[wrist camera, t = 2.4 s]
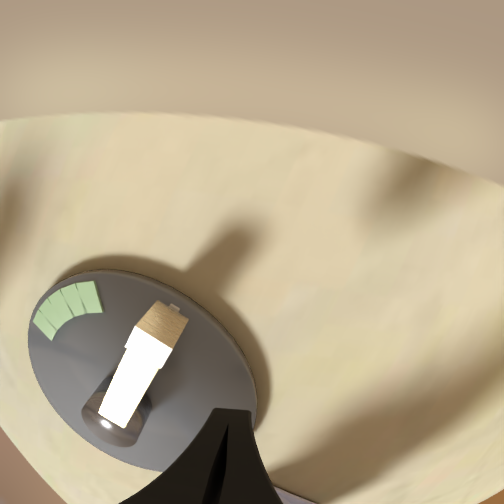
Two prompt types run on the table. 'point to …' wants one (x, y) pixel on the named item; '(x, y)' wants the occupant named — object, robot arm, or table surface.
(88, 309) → the dial plate
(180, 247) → the table surface
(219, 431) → the robot arm
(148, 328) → the peg lever
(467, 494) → the table surface
